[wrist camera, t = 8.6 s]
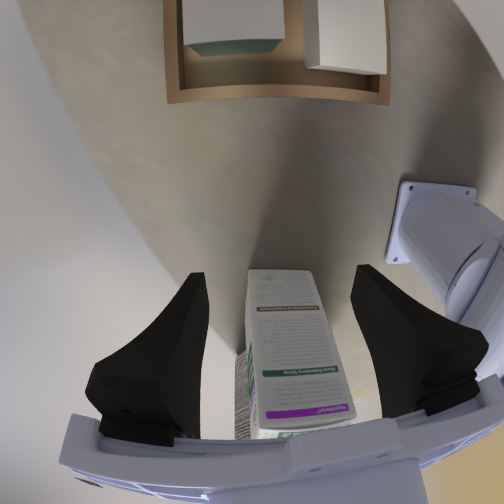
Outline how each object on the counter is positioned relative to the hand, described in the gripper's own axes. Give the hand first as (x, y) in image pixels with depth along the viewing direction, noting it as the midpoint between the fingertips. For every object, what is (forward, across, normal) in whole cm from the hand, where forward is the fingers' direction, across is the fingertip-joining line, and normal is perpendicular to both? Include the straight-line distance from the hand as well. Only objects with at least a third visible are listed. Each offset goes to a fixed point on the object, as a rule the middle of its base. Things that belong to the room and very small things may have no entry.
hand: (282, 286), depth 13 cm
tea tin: (+9, +2, -13) cm, 16 cm away
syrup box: (+10, -1, +9) cm, 14 cm away
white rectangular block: (+9, -5, -14) cm, 17 cm away
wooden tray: (+10, -1, -14) cm, 17 cm away
